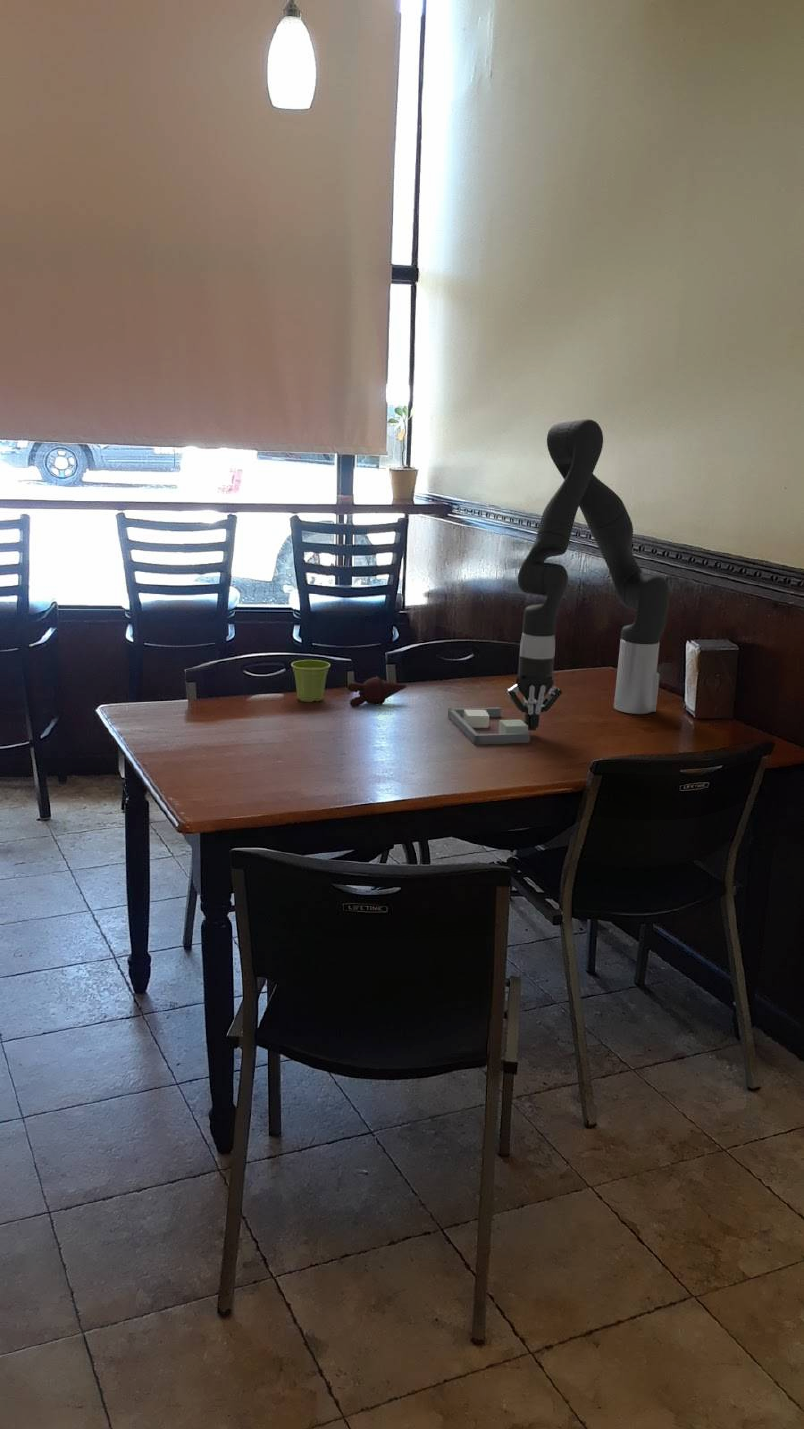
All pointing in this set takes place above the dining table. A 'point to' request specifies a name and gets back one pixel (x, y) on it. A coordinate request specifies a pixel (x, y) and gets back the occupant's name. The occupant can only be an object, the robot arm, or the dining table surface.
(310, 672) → the plant pot
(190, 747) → the dining table surface
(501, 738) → the grey u-shaped frame
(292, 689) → the dining table surface
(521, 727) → the tile sage
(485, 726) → the tile cream
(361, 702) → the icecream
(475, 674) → the dining table surface
